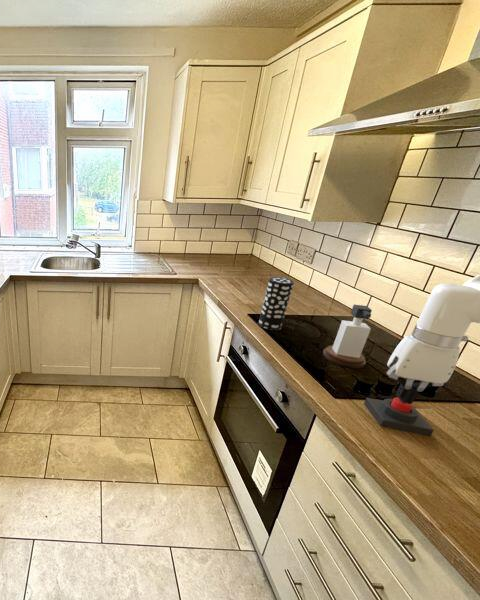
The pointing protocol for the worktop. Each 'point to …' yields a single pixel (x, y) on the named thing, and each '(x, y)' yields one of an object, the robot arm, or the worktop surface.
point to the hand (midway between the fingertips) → (403, 399)
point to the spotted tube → (275, 303)
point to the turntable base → (342, 363)
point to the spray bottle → (351, 337)
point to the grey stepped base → (397, 417)
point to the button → (401, 405)
